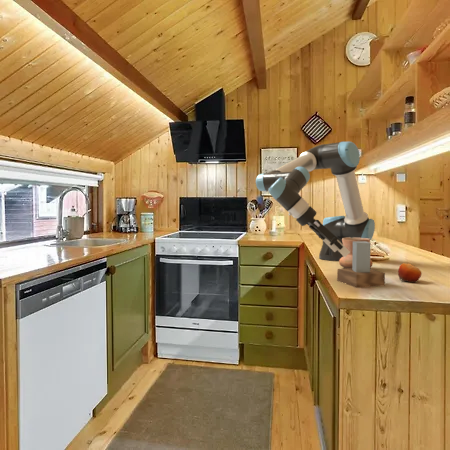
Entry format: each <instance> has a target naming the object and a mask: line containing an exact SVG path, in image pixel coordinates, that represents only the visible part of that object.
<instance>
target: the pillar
mask: <svg viewBox="0 0 450 450" xmlns="http://www.w3.org/2000/svg"><path fill="white" fill-rule="evenodd" d="M370 259H371V242H370V243H369V242H366V241H353V260H352V270H353V271H355V272H370V269H371V267H370Z"/></svg>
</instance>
